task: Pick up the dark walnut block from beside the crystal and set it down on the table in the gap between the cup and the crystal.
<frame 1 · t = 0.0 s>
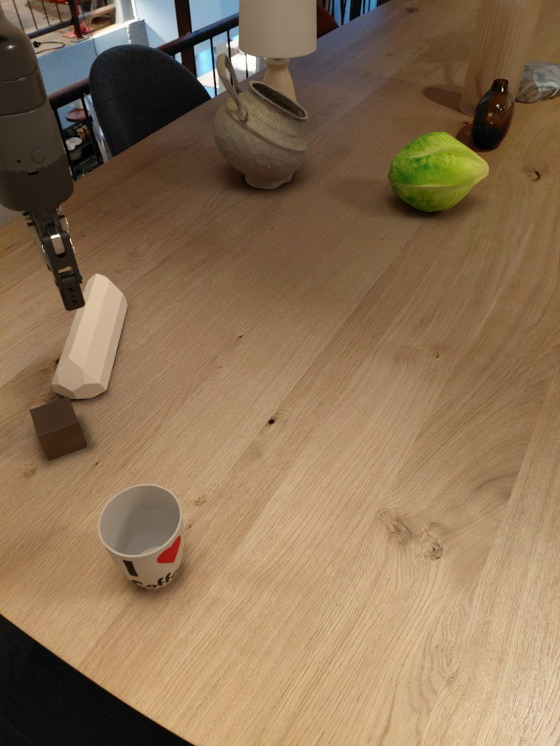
hand: (66, 287, 66), 20 cm above the table, tool pointing down, fingers open, 8 cm apart
walnut block: (63, 440, 75), on the table
pot: (262, 179, 129), on the table
crystal: (95, 349, 88), on the table
cup: (155, 567, 63), on the table
lettuce: (431, 207, 121), on the table
lamp: (277, 130, 149), on the table
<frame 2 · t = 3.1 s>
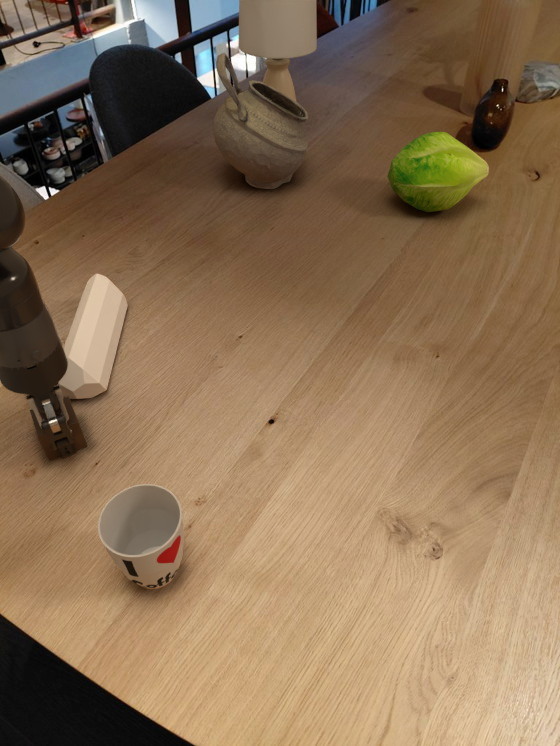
hand: (63, 438, 75), 0 cm above the table, tool pointing down, fingers closed on walnut block, 5 cm apart
walnut block: (63, 440, 75), on the table, touching gripper
everything else where it was.
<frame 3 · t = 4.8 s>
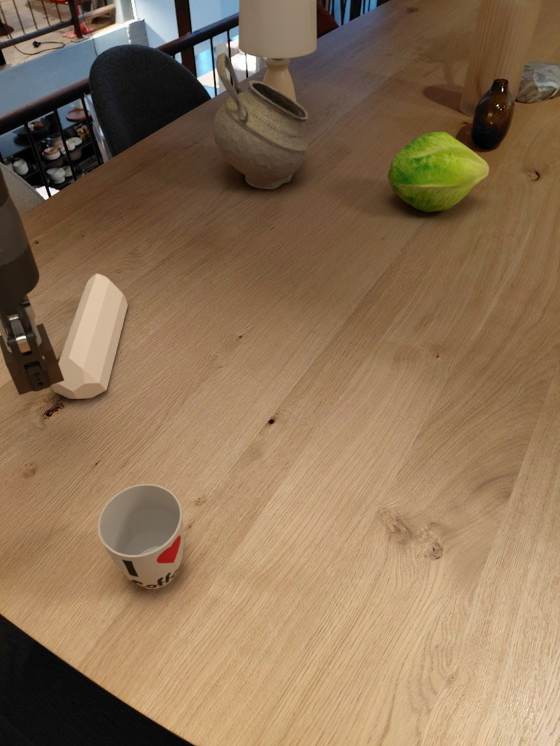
hand: (36, 371, 66), 13 cm above the table, tool pointing down, fingers closed on walnut block, 5 cm apart
walnut block: (37, 374, 66), point 12 cm above the table, touching gripper
everything else where it was.
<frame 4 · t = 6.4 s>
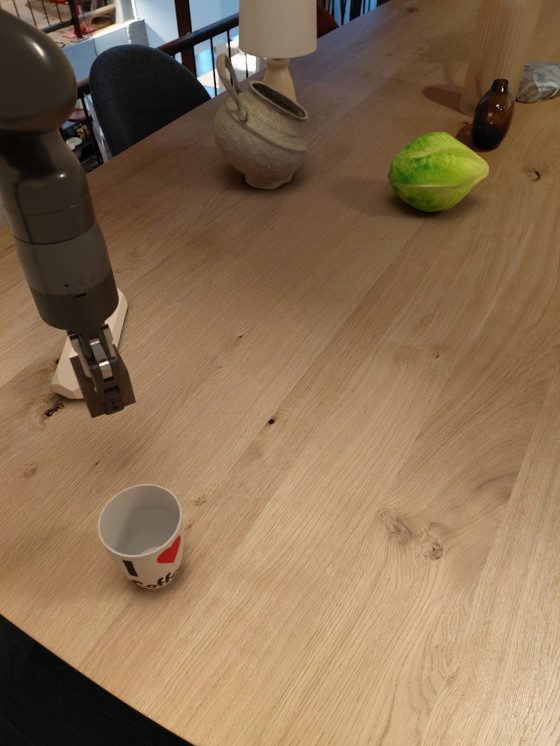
hand: (107, 393, 64), 13 cm above the table, tool pointing down, fingers closed on walnut block, 5 cm apart
walnut block: (108, 396, 64), point 12 cm above the table, touching gripper
everything else where it was.
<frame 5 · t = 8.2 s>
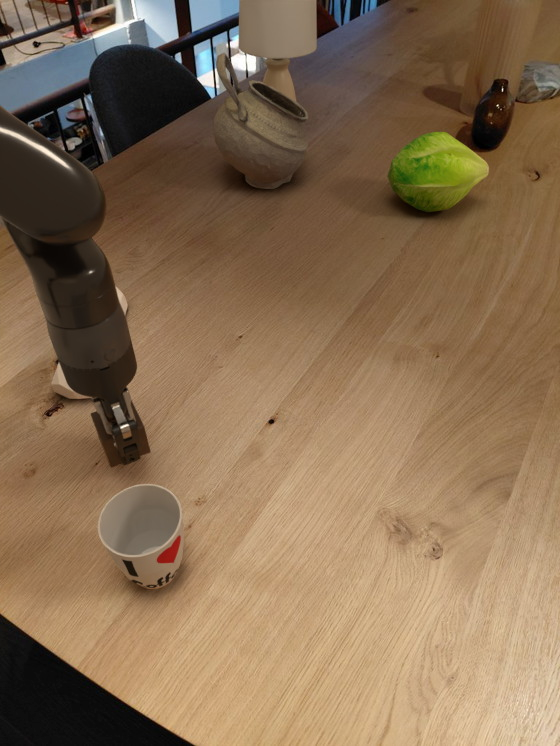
hand: (124, 444, 70), 4 cm above the table, tool pointing down, fingers closed on walnut block, 5 cm apart
walnut block: (124, 445, 70), point 3 cm above the table, touching gripper
everything else where it was.
when the fingers open (0 cm above the table, at t = 9.6 s): walnut block stays where it is, on the table.
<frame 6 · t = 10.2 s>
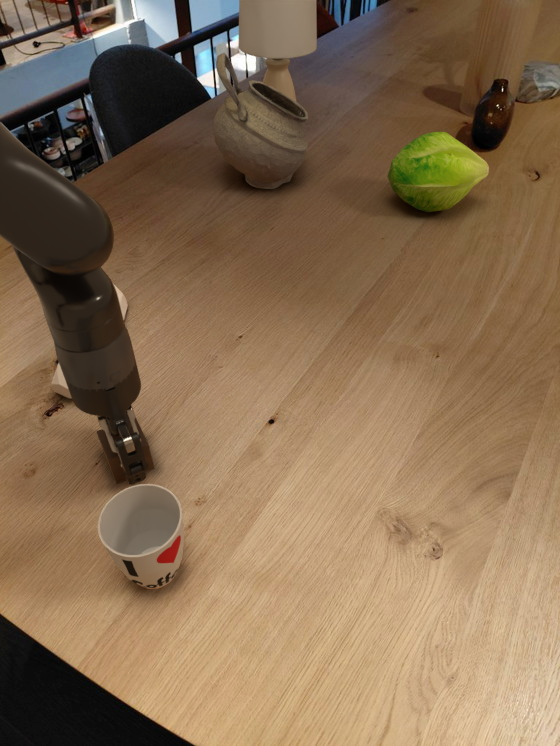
hand: (126, 455, 71), 2 cm above the table, tool pointing down, fingers open, 8 cm apart
walnut block: (129, 462, 73), on the table
everything else where it was.
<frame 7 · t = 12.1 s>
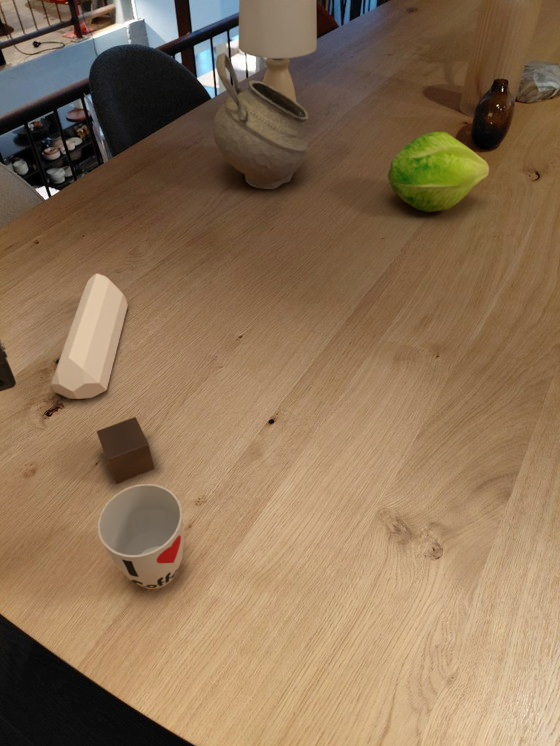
nothing on the table moved.
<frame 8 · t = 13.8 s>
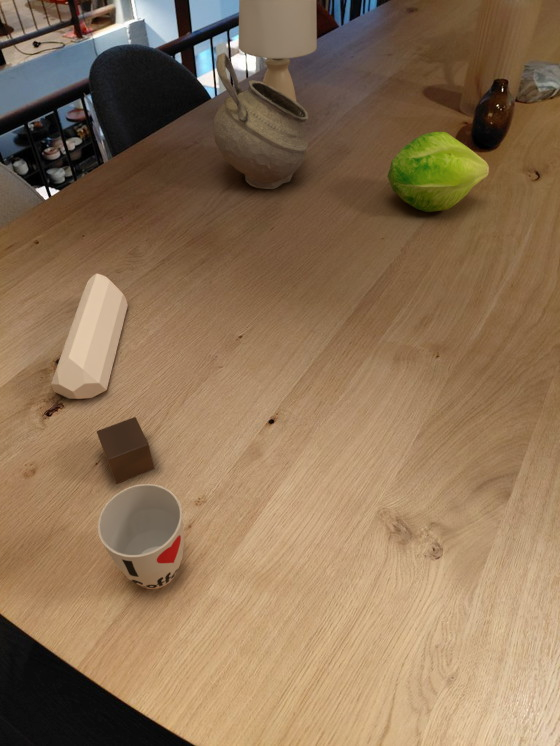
nothing on the table moved.
at the end: walnut block inside the target area on the table beside the cup (0.4 cm from its centre), on the table; walnut block inside the target area on the table beside the crystal (0.5 cm from its centre), on the table; walnut block tilted 0° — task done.
